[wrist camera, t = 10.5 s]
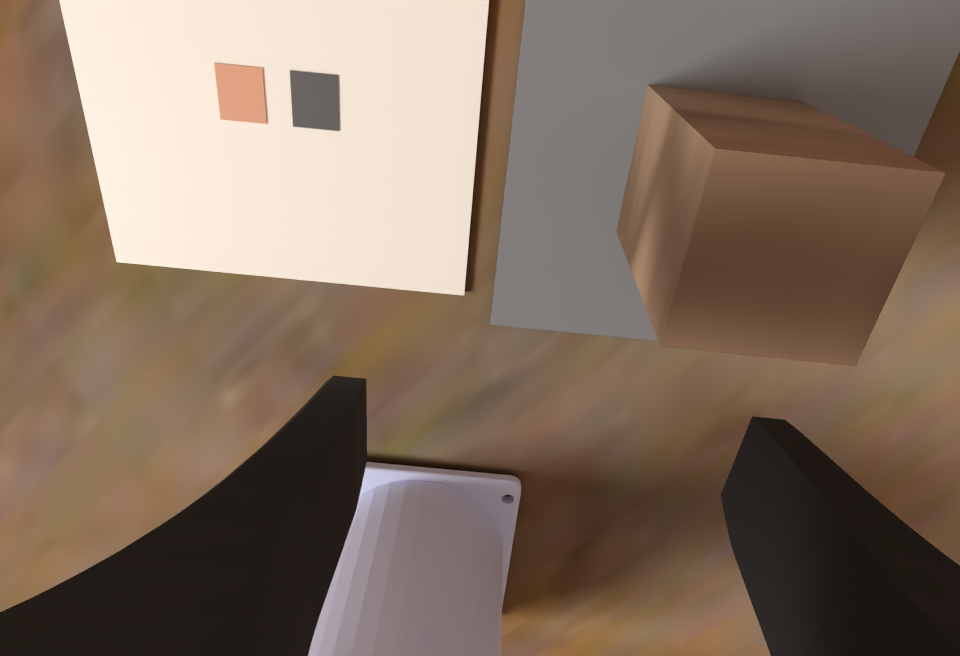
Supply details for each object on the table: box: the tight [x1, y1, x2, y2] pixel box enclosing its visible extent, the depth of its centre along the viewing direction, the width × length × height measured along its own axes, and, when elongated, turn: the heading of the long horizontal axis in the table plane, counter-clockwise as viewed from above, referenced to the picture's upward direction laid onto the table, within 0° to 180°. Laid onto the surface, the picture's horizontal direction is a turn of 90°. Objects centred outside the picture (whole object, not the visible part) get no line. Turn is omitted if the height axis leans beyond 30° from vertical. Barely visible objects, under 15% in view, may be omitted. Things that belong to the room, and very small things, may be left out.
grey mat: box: [490, 0, 960, 341], centre depth 20 cm, size 12×12×1 cm
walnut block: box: [616, 85, 946, 366], centre depth 16 cm, size 4×4×7 cm
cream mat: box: [60, 0, 489, 295], centre depth 19 cm, size 12×12×1 cm
